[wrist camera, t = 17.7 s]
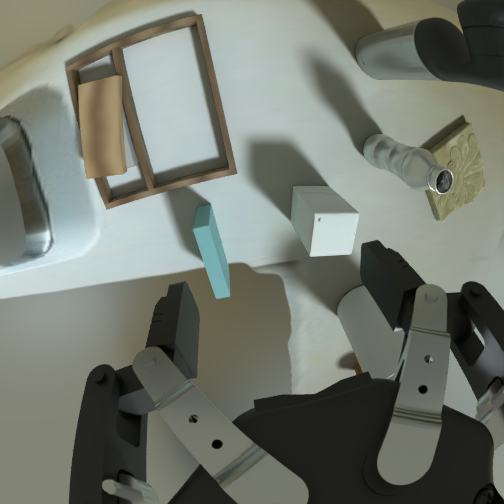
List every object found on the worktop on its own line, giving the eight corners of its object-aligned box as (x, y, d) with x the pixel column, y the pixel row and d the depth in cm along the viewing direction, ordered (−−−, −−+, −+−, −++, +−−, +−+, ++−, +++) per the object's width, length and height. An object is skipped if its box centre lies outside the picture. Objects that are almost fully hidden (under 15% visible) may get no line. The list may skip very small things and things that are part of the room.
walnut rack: (202, 18, 30) (201, 14, 28) (236, 170, 45) (237, 173, 43) (72, 68, 31) (65, 67, 28) (111, 204, 45) (106, 209, 43)
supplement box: (289, 222, 51) (307, 258, 40) (292, 184, 47) (313, 211, 36) (325, 221, 52) (351, 256, 41) (330, 185, 48) (360, 212, 37)
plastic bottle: (388, 163, 46) (457, 202, 29) (359, 165, 46) (424, 206, 29) (388, 131, 43) (462, 158, 26) (357, 132, 43) (428, 158, 26)
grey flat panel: (118, 76, 33) (114, 75, 31) (138, 163, 41) (134, 166, 39) (83, 91, 33) (77, 91, 31) (103, 174, 41) (99, 177, 39)
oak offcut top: (121, 76, 31) (117, 75, 30) (127, 170, 40) (123, 174, 38) (83, 85, 31) (78, 85, 29) (91, 175, 39) (86, 179, 37)
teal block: (210, 203, 48) (208, 225, 40) (228, 267, 55) (230, 296, 47) (197, 206, 48) (192, 229, 40) (216, 269, 55) (216, 298, 47)
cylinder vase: (344, 327, 69) (377, 404, 47) (329, 300, 63) (367, 387, 41) (384, 304, 66) (427, 376, 45) (373, 275, 60) (426, 353, 39)
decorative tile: (411, 160, 46) (422, 164, 43) (464, 120, 42) (474, 123, 39) (433, 223, 55) (442, 230, 52) (479, 182, 50) (488, 187, 47)
